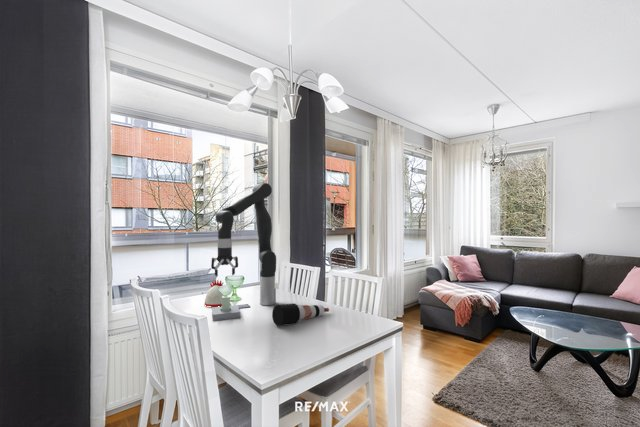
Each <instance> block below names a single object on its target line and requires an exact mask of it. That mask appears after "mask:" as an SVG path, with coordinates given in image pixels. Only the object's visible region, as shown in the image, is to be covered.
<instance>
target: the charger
mask: <svg viewBox="0 0 640 427" xmlns="http://www.w3.org/2000/svg"><path fill="white" fill-rule="evenodd" d="M230 306H231V296H230V295H228V294H227V296H222V306H221V307H222V311H230Z"/></svg>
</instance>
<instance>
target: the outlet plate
mask: <svg viewBox="0 0 640 427" xmlns="http://www.w3.org/2000/svg"><path fill="white" fill-rule="evenodd" d="M238 305H239V304H236V305H235V304H233V305H230V311H222V306H221V307H211V316H212V317H211V318H212V321H219V320H222V321H223V320H230V319H238V318H241V309H239V308H238Z"/></svg>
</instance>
